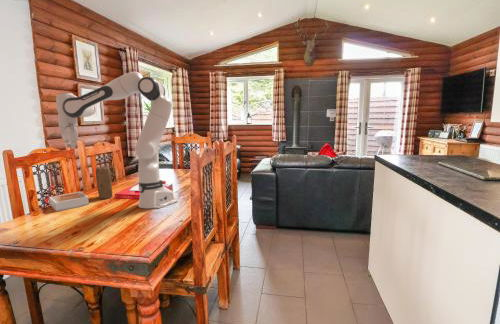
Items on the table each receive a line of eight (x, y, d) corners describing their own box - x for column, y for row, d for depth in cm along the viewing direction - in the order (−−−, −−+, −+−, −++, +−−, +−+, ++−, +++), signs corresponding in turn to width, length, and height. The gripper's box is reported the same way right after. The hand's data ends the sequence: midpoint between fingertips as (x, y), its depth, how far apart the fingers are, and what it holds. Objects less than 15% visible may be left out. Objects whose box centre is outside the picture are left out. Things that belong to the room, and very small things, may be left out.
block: (113, 198, 173) (110, 167, 170) (100, 200, 168) (97, 168, 165) (110, 194, 181) (107, 165, 178) (97, 196, 177) (94, 166, 174)
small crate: (77, 200, 166) (76, 192, 165) (80, 202, 161) (79, 194, 161) (58, 204, 158) (57, 196, 158) (60, 206, 154) (59, 198, 154)
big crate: (81, 199, 171) (80, 191, 170) (89, 204, 160) (88, 196, 159) (50, 205, 160) (49, 197, 159) (56, 211, 149) (55, 203, 148)
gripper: (80, 123, 145) (83, 148, 147) (70, 122, 159) (72, 146, 162) (66, 123, 141) (69, 149, 143) (57, 123, 155) (60, 147, 157)
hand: (71, 147), depth 152 cm, fingers open, 8 cm apart
